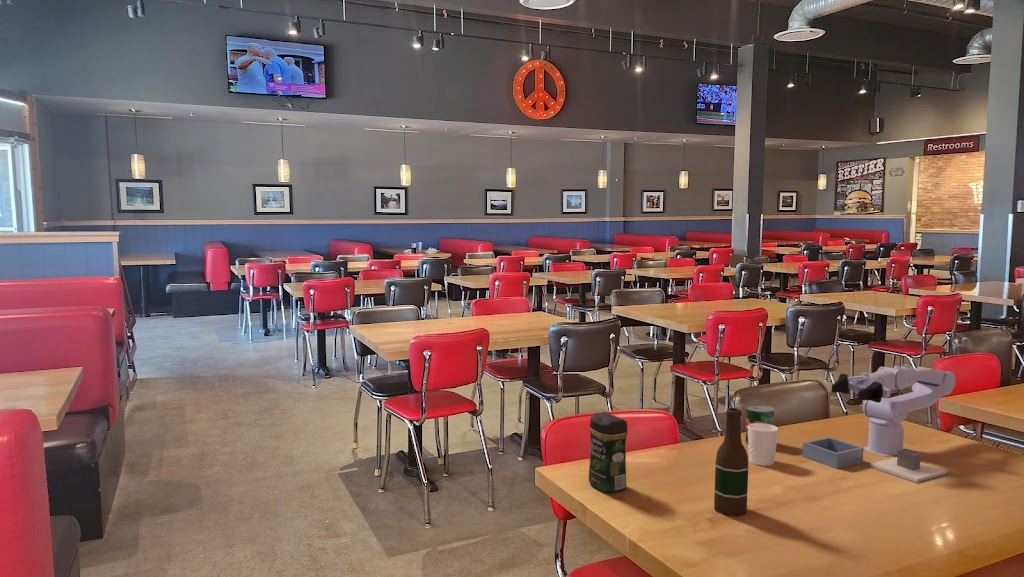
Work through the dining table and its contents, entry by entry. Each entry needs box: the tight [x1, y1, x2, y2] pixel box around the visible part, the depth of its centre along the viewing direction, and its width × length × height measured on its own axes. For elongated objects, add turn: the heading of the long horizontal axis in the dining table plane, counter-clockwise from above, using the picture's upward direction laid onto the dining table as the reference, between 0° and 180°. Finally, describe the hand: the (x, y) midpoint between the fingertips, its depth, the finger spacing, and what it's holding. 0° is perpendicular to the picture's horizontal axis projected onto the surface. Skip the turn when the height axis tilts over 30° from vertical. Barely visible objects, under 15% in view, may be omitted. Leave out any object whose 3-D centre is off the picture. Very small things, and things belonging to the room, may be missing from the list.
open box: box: [802, 436, 865, 470], centre depth 198 cm, size 11×11×4 cm
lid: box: [869, 448, 948, 482], centre depth 189 cm, size 13×13×5 cm
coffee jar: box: [588, 411, 628, 493], centre depth 177 cm, size 10×8×19 cm
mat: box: [865, 463, 953, 485], centre depth 190 cm, size 15×15×1 cm
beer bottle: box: [713, 407, 749, 517], centre depth 163 cm, size 8×8×24 cm
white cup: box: [747, 423, 779, 467], centre depth 196 cm, size 8×8×10 cm
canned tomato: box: [744, 404, 775, 445], centre depth 212 cm, size 8×8×11 cm
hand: (845, 392), depth 193 cm, fingers open, 7 cm apart
